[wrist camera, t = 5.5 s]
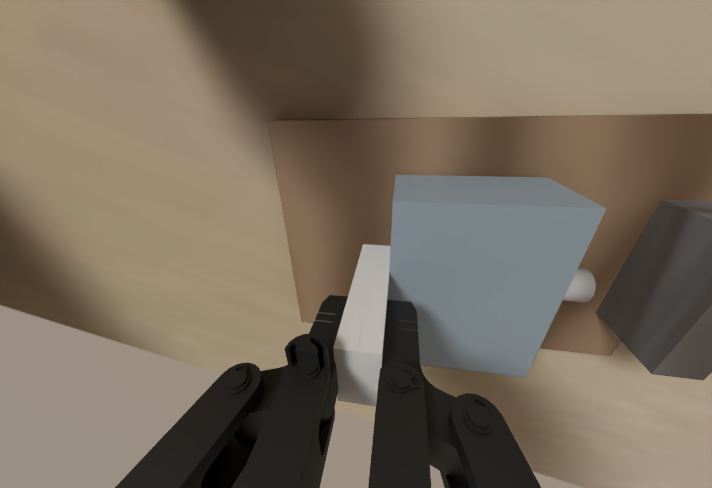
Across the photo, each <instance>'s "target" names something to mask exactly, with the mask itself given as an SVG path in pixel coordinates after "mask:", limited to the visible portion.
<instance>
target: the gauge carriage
mask: <svg viewBox="0 0 712 488" xmlns="http://www.w3.org/2000/svg"><path fill="white" fill-rule="evenodd" d="M606 209H607V208H605V207H603V206H601V205H599V204H597V203H595V202H593V201H592V200H590V199H588V198H586V197H584V196H582V195H580V194H578V193H576V192H574V191H573V190H571V189H569V188H567V187H565V186H563V185H561V184H559V183H557V182H555V181H554V180H552V179H550V178H548V177H495V176H442V175H396V177H395V186H394V195H393V208H392V228H391V247H390V267H389V287H388V300H398V301H409V302H412V304H413V305H414V307H415V309H416V310H417V323H418V338H419V354H420V365H428V366H436V367H443V368H451V369H459V370H467V371H475V372H483V373H490V374H498V375H506V376H514V377H522V378H525V377H526V375H527V373H528V371H529V369H530V367H531V365H532V363H533V361H534V359H535V356H536V354H537V352H538V350H539V348H540V346H541V344H542V342H543V340H544V338H545V336H546V334H547V332H548V329H549V327H550V325H551V323H552V321H553V319H554V317H555V315H556V313H557V311H558V309H559V307H560V304H561V302H562V300H563V301H575V302H588V301H589V300H591V299H592V297H593V296H594V293H595V289H596V283H595V279H594V276H593V274H592V273H591V272H590V271H589V270H588V269H586V268H578V267H579V265H580V263H581V261H582V259H583V257H584V255H585V252H586V250H587V248H588V246H589V244H590V242H591V240H592V238H593V236H594V234H595V232H596V230H597V228H598V225H599V223H600V221H601V219H602V217H603V215H604V213H605V211H606Z"/></svg>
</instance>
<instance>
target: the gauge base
mask: <svg viewBox="0 0 712 488" xmlns="http://www.w3.org/2000/svg"><path fill="white" fill-rule="evenodd" d="M268 126H269V132H270V138H271V144H272V150H273V156H274V162H275V168H276V174H277V179H278V185H279V191H280V197H281V203H282V209H283V215H284V221H285V227H286V232H287V238H288V244H289V250H290V256H291V262H292V268H293V274H294V280H295V285H296V291H297V297H298V303H299V309H300V315H301V321H302V322H308V323H314V321H315V318H316V316H317V313H318V311H319V309H320V306H321V304H322V302H323V301H324V300H325V299H326V298H327V297H328V296H329V295H337V296H348V295H349V292H350V288H351V285H352V281H353V278H354V274H355V271H356V267H357V264H358V260H359V257H360V253H361V250H362V246H363V244H368V245H385V246H391V228H392V208H393V195H394V186H395V177H396V175H442V176H495V177H548V178H550V179H552V180H554V181H555V182H557V183H559V184H561V185H563V186H565V187H567V188H569V189H571V190H573V191H574V192H576V193H578V194H580V195H582V196H584V197H586V198H588V199H590V200H592V201H593V202H595V203H597V204H599V205H601V206H603V207H605V208H607V209H606V211H605V213H604V215H603V217H602V219H601V221H600V223H599V225H598V228H597V230H596V232H595V234H594V236H593V238H592V240H591V242H590V244H589V246H588V248H587V250H586V252H585V255H584V257H583V259H582V261H581V263H580V265H579V267H578V268H586V269H588V270H589V271H590V272H591V273H592V274H593V276H594V279H595V283H596V289H595V293H594V296H593V297H592V299H591V300H589V301H588V302H575V301H563V300H562V302H561V304H560V307H559V309H558V311H557V313H556V315H555V317H554V319H553V321H552V323H551V325H550V327H549V329H548V332H547V334H546V336H545V338H544V340H543V342H542V344H541V346H540V348H543V349H552V350H561V351H570V352H579V353H588V354H597V355H606V356H611V355H612V353H613V352H614V350H615V349H616V348H617V346H618V345H619V343H620V342H621V341H622V342H623V343H624V344H625V345H626V346H627V347H628V348H629V350H630V351H631V352H632V353H633V354H634V355H635V356H636V357H637V358H638V359H639V361H640V362H641V363H642V364H643V365H644V366H645V367H646V368H647V369H648V370H649V372H650V373H651V374H655V375H664V376H672V377H680V378H689V379H697V380H704V379H705V378H706V377H707V376H708V375H709V374H711V373H712V114H664V115H594V116H523V117H453V118H383V119H313V120H273V121H268Z"/></svg>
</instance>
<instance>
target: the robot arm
mask: <svg viewBox="0 0 712 488" xmlns="http://www.w3.org/2000/svg"><path fill="white" fill-rule="evenodd" d="M390 247H391V246H385V245H368V244H363V246H362V250H361V253H360V257H359V260H358V264H357V267H356V271H355V274H354V278H353V281H352V285H351V288H350V292H349V295H348V296H337V295H329V296H328V297H327V298H326V299H325V300H324V301H323V302H322V304H321V306H320V309H319V311H318V313H317V316H316V318H315V321H314V323H313V326H312V328H311V331H310V333H309V334H304V335H301V336H298V337H296V338H294V339H293V340H292V341H290V342H289V343H288V345H287V346H286V347H285V352H286V357H287V361H288V365H286V366H284V367H280V368H276V369H270V370H265V371H260V370H259V368H258V367H257V366H256V365H255V364H251V363H241V364H237V365H235V366H233V367H231V368H229V369H228V370H227V371H225V372H224V373H223V374H222V375H221V376H220V377H219V378H218V379H217V380H216V381H215V382H214V383H213V384H212V386H211V387H210V388H209V389H208V390H207V391H206V392H205V393H204V394H203V395H202V396H201V397H200V398H199V399H198V400H197V401H196V402H195V404H194V405H193V406H192V407H191V408H190V409H189V410H188V411H187V412H186V413H185V414H184V415H183V416H182V417H181V418H180V419H179V421H178V422H177V423H176V424H175V425H174V426H173V427H172V428H171V429H170V430H169V431H168V432H167V433H166V434H165V435H164V436H163V437H162V439H161V440H160V441H159V442H158V443H157V444H156V445H155V446H154V447H153V448H152V449H151V450H150V451H149V452H148V454H146V456H145V457H144V458H143V459H142V460H141V461H140V462H139V463H138V464H137V465H136V466H135V467H134V468H133V469H132V470H131V472H129V474H128V475H127V476H126V477H125V478H124V479H123V480H122V481H121V482H120V483H119V484H118V485H117V486H116V487H115V488H320V483H321V478H322V474H323V469H324V465H325V460H326V455H327V451H328V446H329V441H330V437H331V432H332V428H333V423H334V419H335V418H334V417H335V409H334V406H335V402H336V398H337V394H338V400H339V401H345V402H352V403H358V404H364V405H370V406H376V413H375V424H374V434H373V445H372V455H371V466H370V477H369V488H431V479H430V465H432V466H433V467H435V468H437V469H438V470H440V473H441V476H442V479H443V483H444V487H445V488H541V487H540V485H539V483H538V481H537V479H536V477H535V476H534V474H533V472H532V470H531V468H530V466H529V464H528V463H527V461H526V459H525V457H524V455H523V453H522V451H521V450H520V448H519V446H518V444H517V442H516V440H515V438H514V437H513V435H512V433H511V431H510V429H509V427H508V425H507V424H506V422H505V420H504V418H503V416H502V415H501V413H500V412H499V411H498V409H497V408H496V407H495V406H494V405H493V404H492V403H491V402H489V401H488V400H487V399H485V398H483V397H481V396H479V395H476V394H468V393H466V394H463V395H460V396H458V397H457V398H456V397H453V396H451V395H449V394H447V393H445V392H443V391H441V390H439V389H437V388H435V387H434V386H433V385H432V384H430V383H429V382H428V380H427V379H426V378H425V377H424V375H423V373H422V371H421V366H420V354H419V338H418V323H417V310H416V309H415V307H414V305H413V304H412V302H409V301H398V300H388V287H389V267H390Z"/></svg>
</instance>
